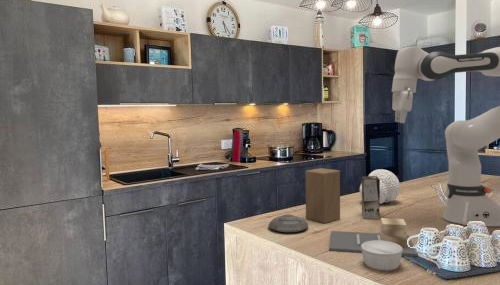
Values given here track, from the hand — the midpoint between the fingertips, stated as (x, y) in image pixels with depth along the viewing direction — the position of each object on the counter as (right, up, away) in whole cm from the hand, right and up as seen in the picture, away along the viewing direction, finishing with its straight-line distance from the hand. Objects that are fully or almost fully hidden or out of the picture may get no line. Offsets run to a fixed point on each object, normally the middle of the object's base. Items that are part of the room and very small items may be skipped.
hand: (399, 122), depth 152 cm
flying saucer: (-45, -41, -8) cm, 62 cm away
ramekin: (-22, -43, -44) cm, 65 cm away
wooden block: (-30, -39, +3) cm, 50 cm away
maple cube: (-13, -41, -29) cm, 51 cm away
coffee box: (-10, -39, +7) cm, 40 cm away
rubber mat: (-20, -41, -27) cm, 53 cm away
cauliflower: (+2, -37, +28) cm, 46 cm away
